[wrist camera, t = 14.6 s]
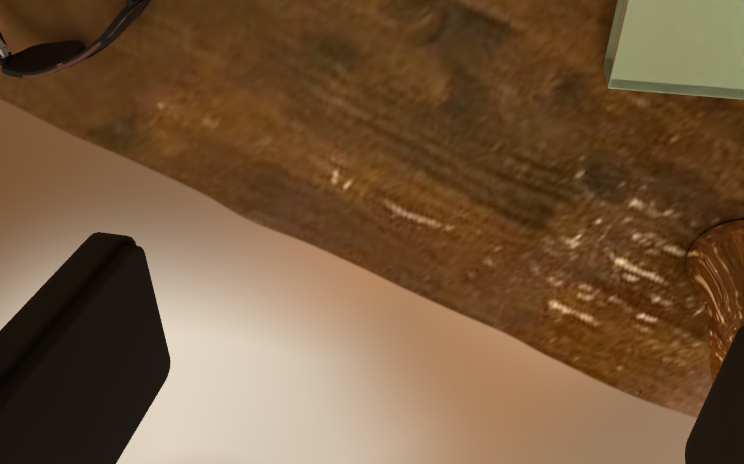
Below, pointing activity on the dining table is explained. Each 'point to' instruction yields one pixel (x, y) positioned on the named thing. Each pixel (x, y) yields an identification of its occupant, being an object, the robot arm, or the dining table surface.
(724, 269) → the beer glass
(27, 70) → the sunglasses
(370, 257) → the dining table surface
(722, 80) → the book
